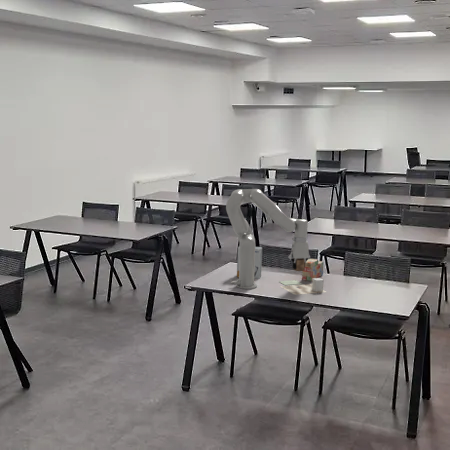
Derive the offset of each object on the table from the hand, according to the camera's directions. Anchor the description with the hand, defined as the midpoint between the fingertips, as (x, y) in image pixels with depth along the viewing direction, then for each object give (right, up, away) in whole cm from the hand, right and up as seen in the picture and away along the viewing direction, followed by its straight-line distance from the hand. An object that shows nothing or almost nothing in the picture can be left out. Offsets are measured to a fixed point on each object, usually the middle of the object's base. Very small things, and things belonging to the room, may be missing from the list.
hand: (298, 268), depth 378 cm
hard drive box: (-29, -8, +28) cm, 41 cm away
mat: (-4, -10, +13) cm, 17 cm away
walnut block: (0, -1, 0) cm, 1 cm away
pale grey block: (+11, -13, -4) cm, 17 cm away
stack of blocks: (+13, -8, +30) cm, 33 cm away
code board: (+3, -13, -1) cm, 13 cm away
